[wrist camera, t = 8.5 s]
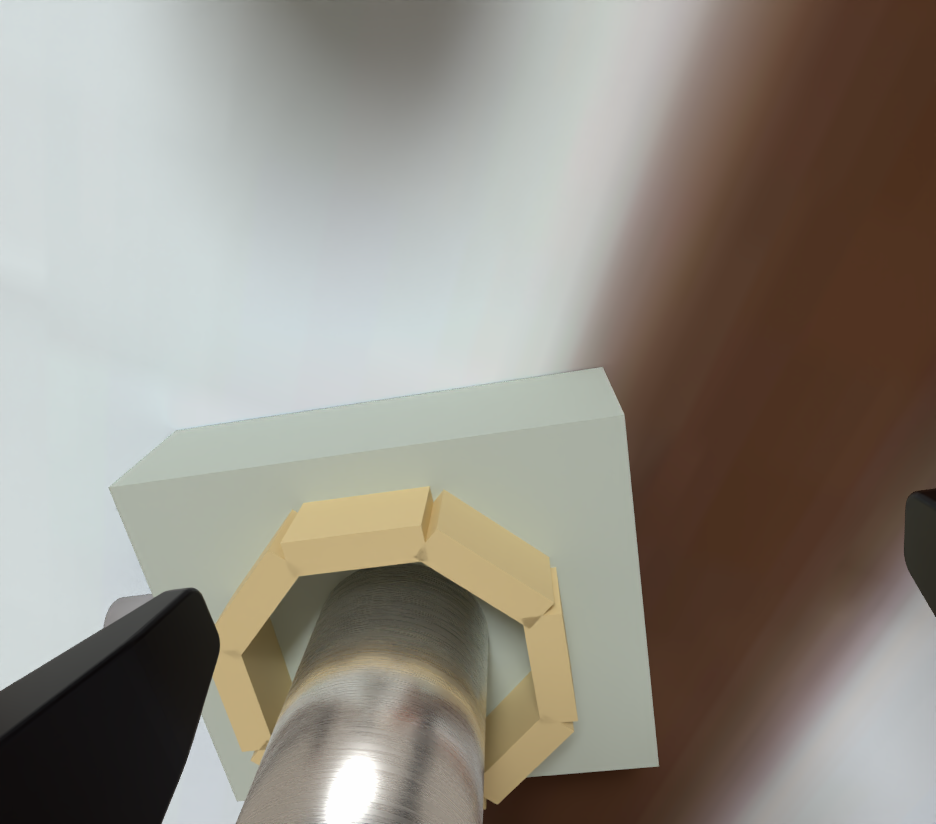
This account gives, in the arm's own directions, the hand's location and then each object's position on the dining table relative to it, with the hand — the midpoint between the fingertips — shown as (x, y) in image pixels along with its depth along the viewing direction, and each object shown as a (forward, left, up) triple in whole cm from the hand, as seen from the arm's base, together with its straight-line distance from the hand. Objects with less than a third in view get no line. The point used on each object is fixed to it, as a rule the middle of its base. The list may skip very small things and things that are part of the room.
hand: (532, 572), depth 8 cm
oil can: (+5, +8, -9) cm, 12 cm away
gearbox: (+6, +8, -12) cm, 16 cm away
